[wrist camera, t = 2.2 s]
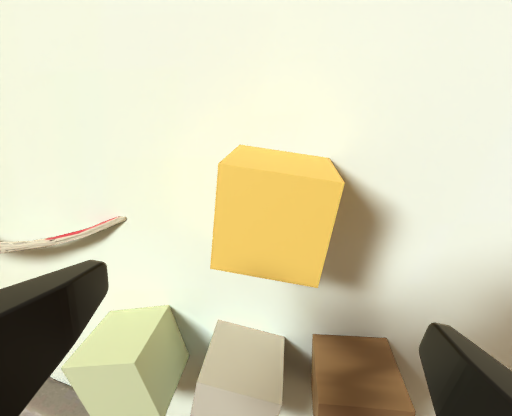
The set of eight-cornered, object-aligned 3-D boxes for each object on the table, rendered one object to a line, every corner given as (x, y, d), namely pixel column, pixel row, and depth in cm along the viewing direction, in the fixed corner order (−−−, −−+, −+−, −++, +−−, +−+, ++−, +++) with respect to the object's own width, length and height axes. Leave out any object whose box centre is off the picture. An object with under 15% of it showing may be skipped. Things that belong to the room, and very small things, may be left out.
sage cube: (169, 304, 21) (133, 363, 16) (189, 354, 22) (162, 421, 18) (110, 310, 22) (60, 367, 17) (133, 358, 23) (94, 423, 19)
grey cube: (284, 335, 20) (282, 405, 16) (269, 381, 22) (262, 455, 18) (218, 318, 21) (196, 382, 16) (208, 365, 22) (186, 434, 18)
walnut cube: (386, 337, 19) (415, 412, 15) (378, 388, 21) (402, 469, 16) (312, 333, 20) (318, 403, 15) (311, 382, 22) (316, 459, 17)
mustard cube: (329, 157, 15) (344, 182, 11) (310, 237, 17) (317, 287, 13) (240, 144, 16) (218, 163, 11) (231, 224, 18) (210, 268, 13)
